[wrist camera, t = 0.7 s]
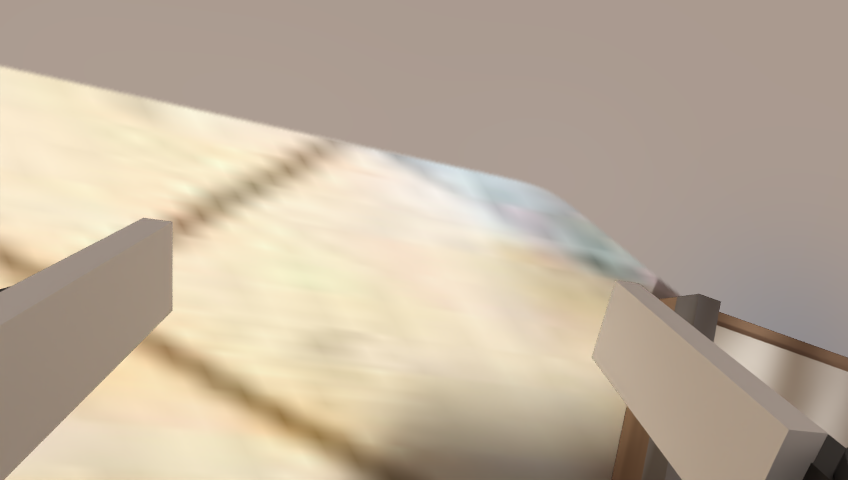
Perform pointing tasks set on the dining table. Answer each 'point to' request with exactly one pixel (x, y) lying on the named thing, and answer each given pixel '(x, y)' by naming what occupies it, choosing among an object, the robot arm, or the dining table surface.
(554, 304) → the dining table surface
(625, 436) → the brown wooden display stand
